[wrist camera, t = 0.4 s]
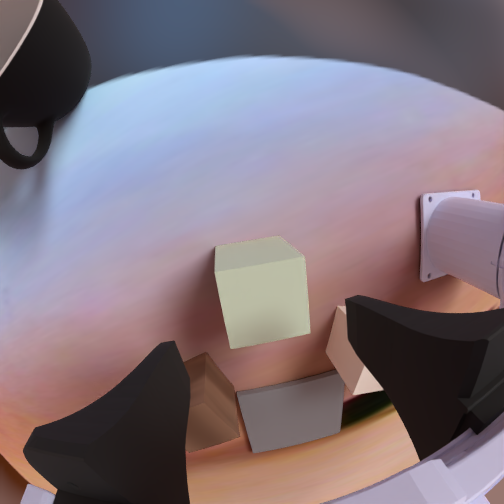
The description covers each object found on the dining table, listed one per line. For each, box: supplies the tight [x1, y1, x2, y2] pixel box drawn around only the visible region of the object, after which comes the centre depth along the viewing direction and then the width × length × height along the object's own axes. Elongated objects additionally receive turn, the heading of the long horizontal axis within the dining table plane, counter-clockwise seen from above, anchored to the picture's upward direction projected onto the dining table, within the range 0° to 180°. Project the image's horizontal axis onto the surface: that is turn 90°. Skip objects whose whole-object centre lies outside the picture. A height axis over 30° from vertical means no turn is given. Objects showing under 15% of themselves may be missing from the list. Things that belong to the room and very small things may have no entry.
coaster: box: [237, 370, 345, 453], centre depth 23 cm, size 10×10×1 cm
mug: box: [0, 0, 91, 169], centre depth 10 cm, size 12×9×10 cm
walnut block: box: [183, 352, 240, 453], centre depth 19 cm, size 4×4×6 cm
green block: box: [215, 236, 310, 349], centre depth 17 cm, size 4×4×6 cm
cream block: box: [325, 306, 384, 395], centre depth 19 cm, size 4×4×6 cm
